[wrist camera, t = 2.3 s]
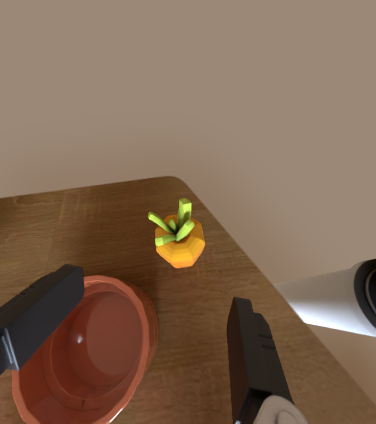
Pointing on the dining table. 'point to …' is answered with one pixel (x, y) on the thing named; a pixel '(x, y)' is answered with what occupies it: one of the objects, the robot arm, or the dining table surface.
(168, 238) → the carrot
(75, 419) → the mixing bowl
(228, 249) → the dining table surface
